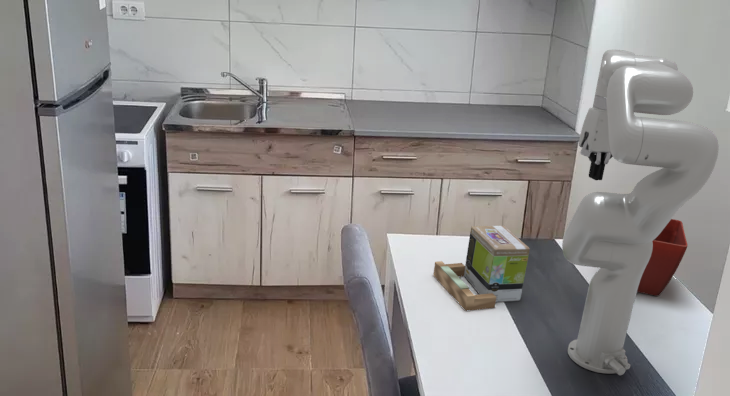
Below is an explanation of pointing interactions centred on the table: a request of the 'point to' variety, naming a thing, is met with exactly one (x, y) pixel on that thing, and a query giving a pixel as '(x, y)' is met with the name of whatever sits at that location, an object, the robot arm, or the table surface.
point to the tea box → (496, 262)
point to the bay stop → (461, 287)
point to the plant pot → (664, 258)
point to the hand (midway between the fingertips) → (595, 178)
